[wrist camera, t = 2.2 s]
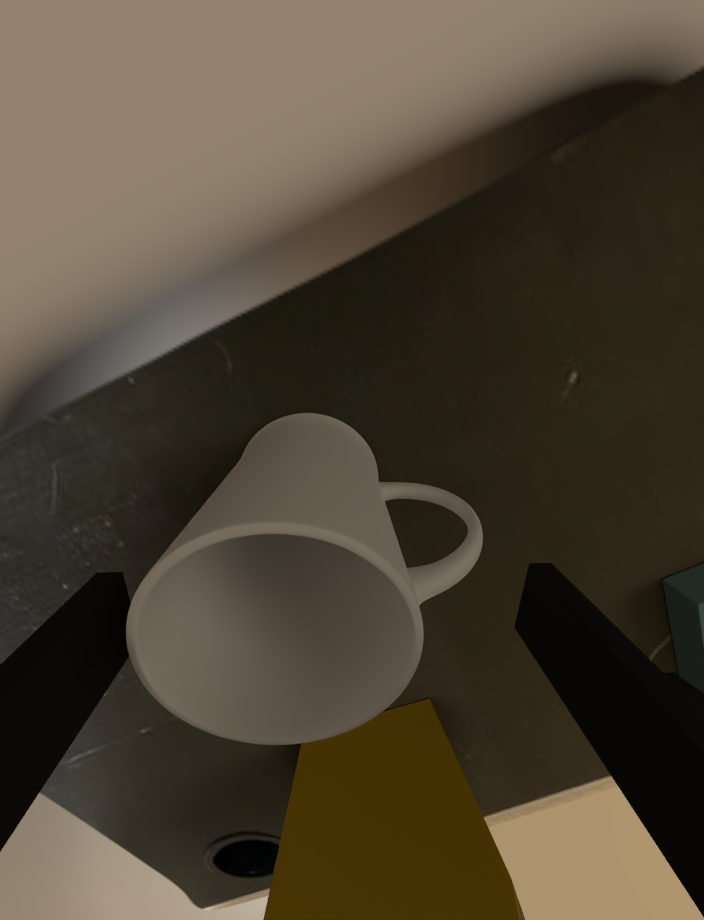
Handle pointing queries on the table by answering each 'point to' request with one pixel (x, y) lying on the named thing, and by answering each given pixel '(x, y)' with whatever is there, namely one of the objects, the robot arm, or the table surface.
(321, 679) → the mug
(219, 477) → the table surface
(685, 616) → the scale
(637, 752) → the robot arm
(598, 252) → the table surface
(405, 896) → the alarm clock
